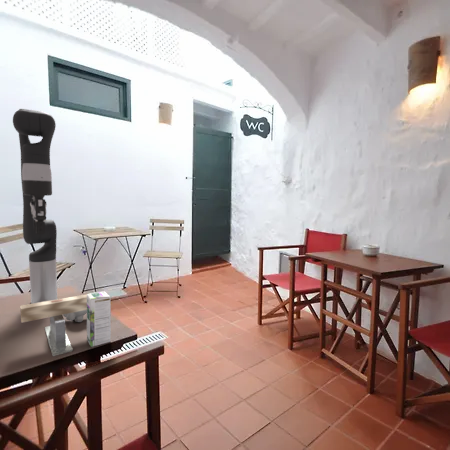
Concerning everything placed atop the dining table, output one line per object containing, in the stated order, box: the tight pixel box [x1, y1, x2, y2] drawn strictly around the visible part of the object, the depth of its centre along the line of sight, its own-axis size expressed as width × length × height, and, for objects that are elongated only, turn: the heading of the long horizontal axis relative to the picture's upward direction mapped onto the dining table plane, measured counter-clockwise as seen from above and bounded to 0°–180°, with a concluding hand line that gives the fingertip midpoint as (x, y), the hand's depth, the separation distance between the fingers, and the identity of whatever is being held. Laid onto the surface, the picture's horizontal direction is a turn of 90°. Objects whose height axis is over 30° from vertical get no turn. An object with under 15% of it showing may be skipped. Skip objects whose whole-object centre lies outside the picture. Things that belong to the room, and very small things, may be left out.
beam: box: [19, 293, 88, 323], centre depth 88 cm, size 18×3×4 cm, turn 127°
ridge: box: [44, 315, 74, 357], centre depth 89 cm, size 20×5×8 cm, turn 37°
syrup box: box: [86, 291, 112, 348], centre depth 88 cm, size 6×6×14 cm
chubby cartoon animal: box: [63, 295, 87, 323], centre depth 104 cm, size 7×12×8 cm, turn 129°
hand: (39, 232), depth 91 cm, fingers open, 8 cm apart
